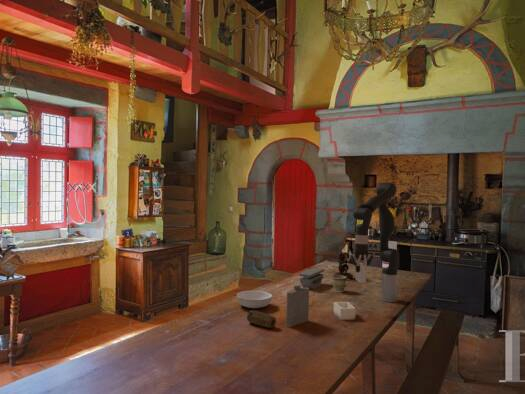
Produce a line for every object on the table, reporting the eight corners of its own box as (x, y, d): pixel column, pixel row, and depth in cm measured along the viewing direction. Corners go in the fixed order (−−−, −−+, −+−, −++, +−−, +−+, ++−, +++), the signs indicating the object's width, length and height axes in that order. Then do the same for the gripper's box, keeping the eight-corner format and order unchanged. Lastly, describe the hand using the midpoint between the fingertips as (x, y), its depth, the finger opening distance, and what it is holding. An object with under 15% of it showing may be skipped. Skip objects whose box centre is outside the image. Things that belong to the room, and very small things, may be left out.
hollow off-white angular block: (347, 312, 227) (348, 301, 227) (355, 319, 215) (355, 308, 215) (333, 312, 226) (333, 302, 226) (340, 319, 214) (340, 308, 214)
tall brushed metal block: (361, 279, 233) (361, 262, 233) (365, 282, 226) (366, 265, 226) (355, 279, 233) (356, 262, 233) (359, 282, 226) (360, 265, 226)
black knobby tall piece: (338, 275, 323) (339, 250, 322) (355, 277, 314) (356, 252, 314) (330, 278, 311) (331, 252, 311) (348, 281, 302) (349, 255, 302)
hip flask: (289, 327, 200) (290, 288, 199) (283, 325, 203) (284, 286, 202) (309, 320, 211) (310, 283, 211) (303, 318, 214) (304, 282, 213)
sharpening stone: (309, 291, 271) (309, 275, 271) (298, 289, 275) (299, 273, 275) (323, 283, 292) (324, 269, 292) (313, 282, 297) (314, 267, 296)
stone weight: (245, 324, 203) (245, 311, 203) (252, 320, 209) (252, 308, 209) (270, 330, 196) (271, 317, 196) (277, 326, 202) (277, 313, 202)
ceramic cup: (329, 292, 270) (330, 277, 270) (333, 288, 279) (333, 274, 279) (349, 294, 265) (349, 279, 265) (351, 291, 274) (352, 276, 274)
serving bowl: (279, 306, 235) (279, 295, 235) (254, 314, 220) (254, 302, 219) (254, 299, 249) (254, 288, 249) (229, 305, 234) (229, 294, 234)
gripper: (370, 241, 234) (369, 270, 234) (347, 241, 232) (346, 270, 232) (376, 243, 226) (375, 273, 227) (352, 243, 224) (351, 273, 225)
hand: (360, 272), depth 230 cm, fingers closed on tall brushed metal block, 3 cm apart
